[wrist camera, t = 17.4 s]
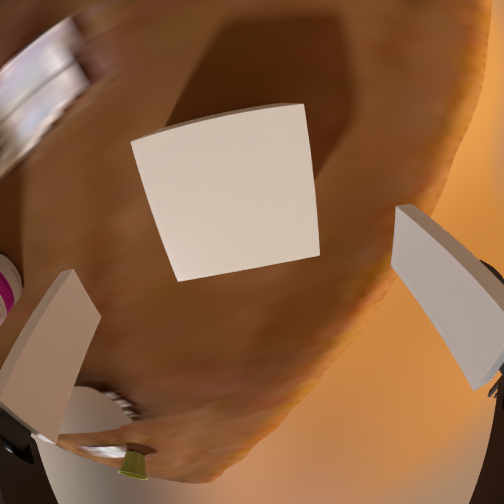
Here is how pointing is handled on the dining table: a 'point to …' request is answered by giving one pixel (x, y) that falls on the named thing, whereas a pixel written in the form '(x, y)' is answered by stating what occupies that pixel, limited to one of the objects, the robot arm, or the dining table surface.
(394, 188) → the dining table surface
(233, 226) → the off-white square block
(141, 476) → the plant pot
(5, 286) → the supplement can
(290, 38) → the dining table surface
